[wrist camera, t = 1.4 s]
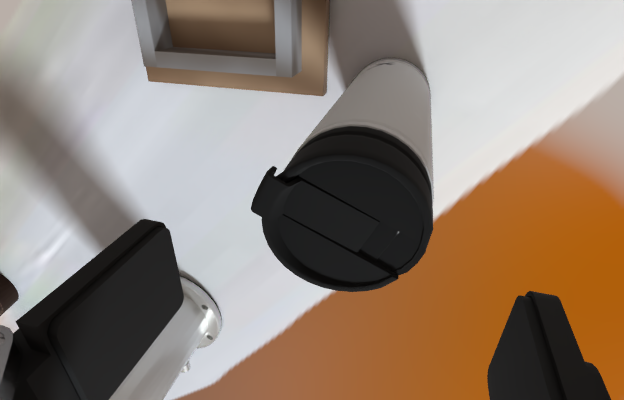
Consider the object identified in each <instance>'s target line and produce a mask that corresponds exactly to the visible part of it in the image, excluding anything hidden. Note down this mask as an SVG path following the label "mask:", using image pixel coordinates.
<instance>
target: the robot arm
mask: <svg viewBox="0 0 624 400" xmlns="http://www.w3.org/2000/svg"><path fill="white" fill-rule="evenodd" d="M16 323H17V325H18V327H19V329H18V330H17V331H16V332H14V333H13V332H12V331H11V330H10V328H8V327H5V326H3V325H0V400H163V399H164V398H165V396H166V394H167V393H168V391H169V390H170V388H171V387H172V385H173V384H174V382H175V380H176V379H177V377H178V376H179V374H180V373H181V372H187V371H188V370H189V369H190V364H189V359H190V357H191V356H192V354H193V353H194V351H195V350H196V349H197V348H203V347H206V346H209V345H211V344H212V343H213V342H214V341H215V340H216V338H217V337H218V335H219V333H220V331H221V326H222V321H221V316H220V313H219V310H218V308H217V307H216V305H215V303H214V302H213V300H212V299H211V298H210V297H209V296H208V295H207V294H206V293H205V292H204V291H203V290H202V289H201V288H200V287H198V286H197V285H196V284H194V283H192V282H191V281H189V280H187V279H185V278H183V277H180V276H179V271H178V266H177V262H176V257H175V253H174V248H173V244H172V239H171V235H170V231H169V230H168V229H167V228H166V226H165V225H164V223H162V222H157V221H152V220H147V219H143V220H140V221H139V222H137V223H136V224H135V225H134V226H133V227H131V228H130V229H129V230H128V231H126V232H125V233H124V234H123V235H122V236H120V237H119V238H118V239H117V240H115V241H114V242H113V243H112V244H110V245H109V246H108V247H107V248H106V249H104V250H103V251H102V252H101V253H99V254H98V255H97V256H96V257H95V258H93V259H92V260H91V261H90V262H88V263H87V264H86V265H85V266H83V267H82V268H81V269H80V270H79V271H77V272H76V273H75V274H74V275H72V276H71V277H70V278H69V279H67V280H66V281H65V282H64V283H63V284H61V285H60V286H59V287H58V288H56V289H55V290H54V291H53V292H52V293H50V294H49V295H48V296H47V297H45V298H44V299H43V300H42V301H40V302H39V303H38V304H37V305H36V306H34V307H33V308H32V309H31V310H29V311H28V312H27V313H26V314H24V315H23V316H22V317H21V318H20V319H18V320H17V321H16ZM488 389H489V396H490V400H611V398H610V396H609V394H608V391H607V389H606V387H605V384H604V382H603V379H602V377H601V375H600V373H599V371H598V369H597V368H596V367H595V366H594V365H593V364H592V363H588V362H584V359H583V357H582V354H581V352H580V349H579V347H578V344H577V341H576V339H575V336H574V334H573V331H572V329H571V326H570V324H569V321H568V319H567V316H566V314H565V311H564V309H563V306H562V304H561V301H560V299H559V298H558V297H557V296H554V295H549V294H543V293H537V292H533V291H529V292H527V294H526V295H525V296H518V297H517V298H516V301H515V303H514V306H513V308H512V311H511V313H510V316H509V318H508V321H507V323H506V325H505V328H504V330H503V333H502V336H501V338H500V341H499V343H498V345H497V348H496V350H495V353H494V356H493V358H492V361H491V363H490V365H489V369H488Z"/></svg>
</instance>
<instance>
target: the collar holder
mask: <svg viewBox="0 0 624 400" xmlns="http://www.w3.org/2000/svg"><path fill="white" fill-rule="evenodd" d="M131 1H132V6H133V11H134V17H135V22H136V27H137V32H138V37H139V42H140V47H141V52H142V57H143V63H144V66H146V70H147V75H148V80H149V81H152V82H164V83H175V84H187V85H199V86H210V87H222V88H234V89H245V90H257V91H269V92H281V93H292V94H304V95H316V96H324V95H325V94H326V92H327V65H328V37H329V10H330V0H131Z"/></svg>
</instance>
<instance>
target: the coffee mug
mask: <svg viewBox="0 0 624 400" xmlns="http://www.w3.org/2000/svg"><path fill="white" fill-rule="evenodd" d="M18 297H19V296H18V292H17V290H16V288H15V287H14V285H13V284H12V283H11V282H10V281H9V280H8V279H7V278H5V277H4V276H2V275H1V274H0V316H1V315H2V314H3V313H4V312H5V311H6V310H7V309H8V308H10V307H11V306H12V305H13V304H14V303H15V302H16V301H17V300H18Z"/></svg>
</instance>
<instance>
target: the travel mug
mask: <svg viewBox="0 0 624 400" xmlns="http://www.w3.org/2000/svg"><path fill="white" fill-rule="evenodd" d="M276 170H277V168H276V167H274V166H273V167H272V168H270V169H269V170H268V171H267V172H266V174H265V176H264V178H263V180H262V182H261V184H260V186H259V188H258V190H257V192H256V194H255V197H254V199H253V202H252V206H251V210H252V212H254V213H256V214H257V215H259V216H261V217H262V226H263V233H264V235H265V238H266V240H267V243H268V245H269V247H270V249H271V250H272V252H273V253H274V255H275V256H276V257H277V259H278V260H279V261H280V262H281V263H282V264H283V265H284V266H285V267H286V268H287V269H289V270H290V271H291V272H293V273H294V274H295V275H297V276H298V277H300V278H302V279H304V280H306V281H307V282H310V283H312V284H315V285H318V286H320V287H323V288H328V289H332V290H337V291H348V292H357V291H369V290H374V289H378V288H381V287H384V286H386V285H387V284H389V283H391V282H393V281H395V280H397V279H398V275H401V274H404V273H406V272H408V271H409V270H410V269H411V268H412V267H414V266H415V264H417V263H418V261H419V260H420V259H421V257H422V256H423V255H424V253H425V251H426V248H427V245H428V242H429V239H430V236H431V234H432V231H433V209H432V206H433V199H434V192H433V157H432V125H431V96H430V87H429V84H428V81H427V79H426V77H425V76H424V74H423V73H422V72H421V70H420V69H419V68H418V67H416V66H415V65H414V64H412V63H410V62H408V61H406V60H403V59H399V58H385V59H380V60H377V61H375V62H373V63H371V64H369V65H368V66H366V67H365V68H364V69H363V70H362V71H361V72H360V73H359V74H358V76H357V77H356V78H355V79H354V80H353V82H352V83H351V84H350V85H349V87H348V88H347V89H346V90H345V92H344V93H343V94H342V95H341V97H340V98H339V99H338V100H337V102H336V103H335V104H334V105H333V107H332V108H331V109H330V110H329V112H328V113H327V114H326V115H325V116H324V118H323V119H322V120H321V121H320V123H319V124H318V125H317V126H316V128H315V129H314V130H313V131H312V133H311V134H310V135H309V136H308V138H307V139H306V140H305V141H304V143H303V144H302V145H301V146H300V148H299V149H298V150H297V152H296V153H295V155H294V156H293V158H292V160H291V161H290V162H289V164H288V165H287V167H286V168H285V170H284V171H283V172H282V173H281V174H279V175H278V176H276V177H275V176H274V174H275V172H276Z"/></svg>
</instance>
